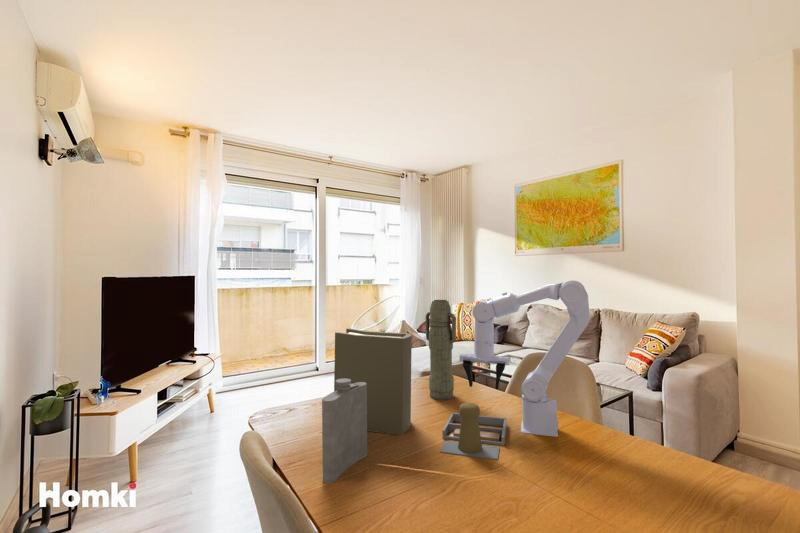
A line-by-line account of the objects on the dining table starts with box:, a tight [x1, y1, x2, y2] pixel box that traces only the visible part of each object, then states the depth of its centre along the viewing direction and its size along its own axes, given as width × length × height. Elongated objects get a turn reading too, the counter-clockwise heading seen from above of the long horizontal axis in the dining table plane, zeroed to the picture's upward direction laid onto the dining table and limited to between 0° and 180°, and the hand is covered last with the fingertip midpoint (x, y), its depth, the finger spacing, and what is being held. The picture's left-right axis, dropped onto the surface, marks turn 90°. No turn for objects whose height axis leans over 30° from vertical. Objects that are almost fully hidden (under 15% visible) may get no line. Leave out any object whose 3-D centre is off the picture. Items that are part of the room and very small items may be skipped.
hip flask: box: [321, 378, 368, 484], centre depth 91 cm, size 16×4×20 cm, turn 154°
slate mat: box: [439, 440, 500, 461], centre depth 97 cm, size 14×6×1 cm, turn 72°
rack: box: [441, 412, 508, 446], centre depth 109 cm, size 16×14×2 cm
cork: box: [457, 402, 483, 453], centre depth 98 cm, size 6×6×11 cm
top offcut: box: [453, 428, 501, 442], centre depth 104 cm, size 12×4×1 cm, turn 69°
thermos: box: [425, 299, 457, 401], centre depth 142 cm, size 9×12×35 cm
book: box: [333, 327, 413, 436], centre depth 115 cm, size 22×9×28 cm, turn 74°
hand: (483, 387), depth 117 cm, fingers open, 7 cm apart
